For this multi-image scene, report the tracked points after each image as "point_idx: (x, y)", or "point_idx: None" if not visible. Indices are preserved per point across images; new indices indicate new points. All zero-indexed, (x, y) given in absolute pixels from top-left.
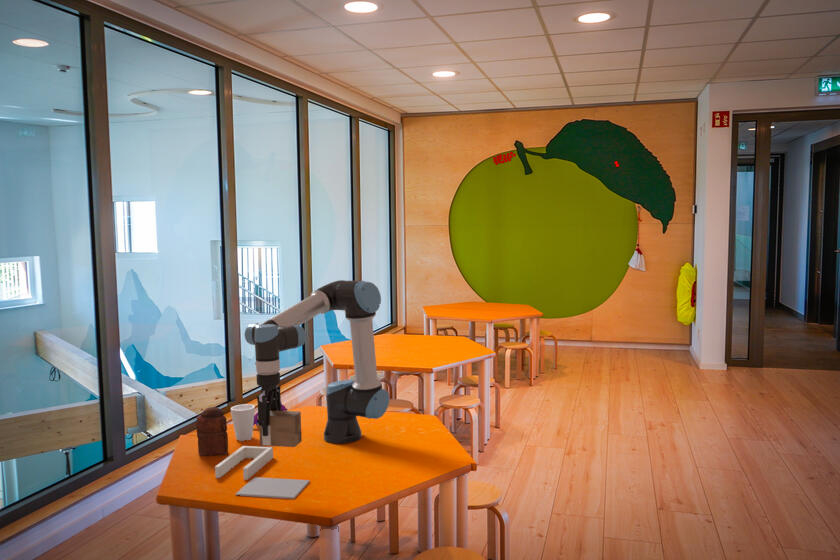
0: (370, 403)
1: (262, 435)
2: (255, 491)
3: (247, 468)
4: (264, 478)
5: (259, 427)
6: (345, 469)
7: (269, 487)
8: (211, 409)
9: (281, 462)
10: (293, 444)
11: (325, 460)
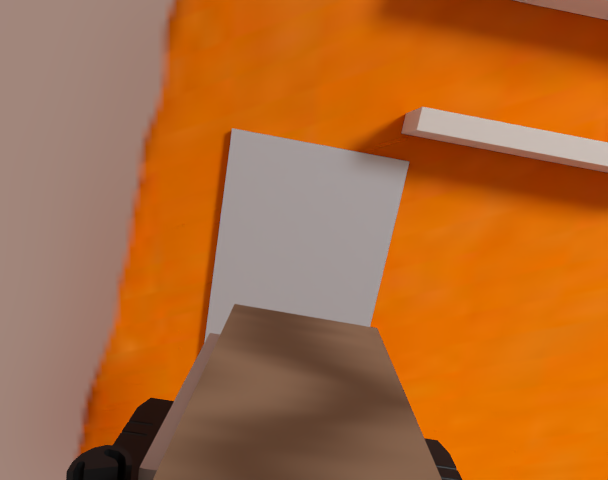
0: None
1: (184, 383)
2: (254, 207)
3: (419, 130)
4: (390, 210)
5: (190, 402)
6: (463, 475)
7: (293, 253)
8: None
9: (587, 233)
10: None
11: (571, 399)
